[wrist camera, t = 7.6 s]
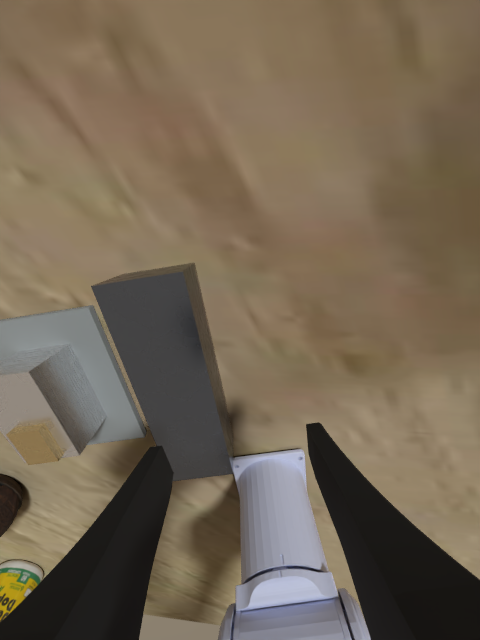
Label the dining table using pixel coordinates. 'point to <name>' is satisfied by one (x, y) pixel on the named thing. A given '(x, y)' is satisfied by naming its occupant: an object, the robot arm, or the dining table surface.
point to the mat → (93, 356)
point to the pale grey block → (47, 404)
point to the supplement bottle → (17, 583)
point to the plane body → (171, 365)
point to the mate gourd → (8, 501)
